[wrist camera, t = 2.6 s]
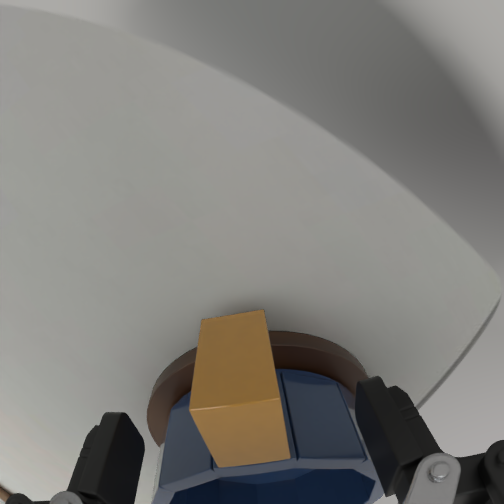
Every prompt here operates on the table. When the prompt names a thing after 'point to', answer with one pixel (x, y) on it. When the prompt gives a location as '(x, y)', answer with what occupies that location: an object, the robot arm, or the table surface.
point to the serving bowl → (260, 429)
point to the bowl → (3, 496)
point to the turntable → (285, 357)
